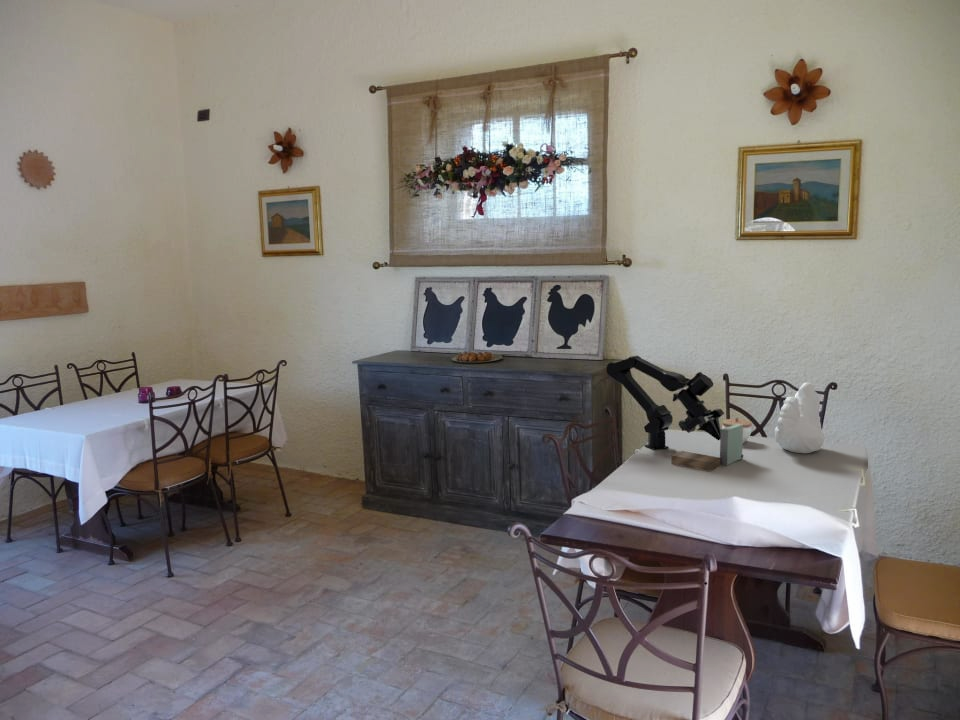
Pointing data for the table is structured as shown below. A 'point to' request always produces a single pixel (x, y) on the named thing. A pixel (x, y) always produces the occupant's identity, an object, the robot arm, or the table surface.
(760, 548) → the table surface
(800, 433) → the decorative rooster
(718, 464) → the stool seat
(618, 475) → the table surface
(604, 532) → the table surface
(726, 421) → the lidded jar
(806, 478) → the table surface
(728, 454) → the green rectangular panel
